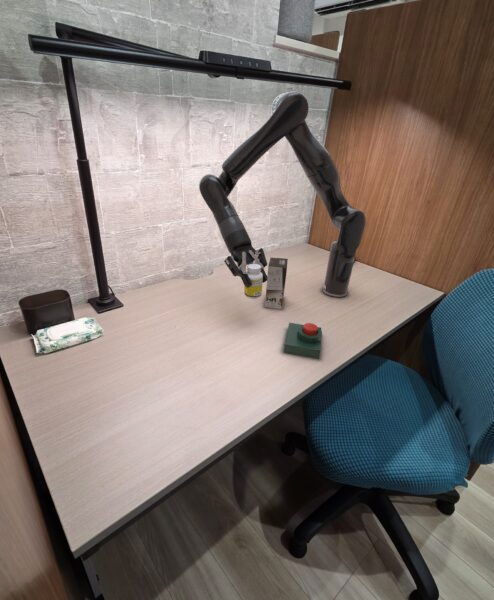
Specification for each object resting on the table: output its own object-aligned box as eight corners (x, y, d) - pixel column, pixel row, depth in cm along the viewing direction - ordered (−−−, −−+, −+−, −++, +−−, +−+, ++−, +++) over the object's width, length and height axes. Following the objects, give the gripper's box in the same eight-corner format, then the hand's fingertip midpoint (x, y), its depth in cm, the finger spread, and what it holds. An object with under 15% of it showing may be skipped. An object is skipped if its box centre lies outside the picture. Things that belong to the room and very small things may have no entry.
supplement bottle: (246, 290, 101) (248, 261, 96) (263, 292, 99) (265, 264, 95) (242, 297, 96) (243, 268, 91) (259, 300, 95) (261, 270, 90)
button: (303, 327, 95) (304, 322, 94) (316, 329, 94) (317, 324, 93) (302, 334, 91) (303, 329, 90) (316, 336, 90) (317, 331, 90)
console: (288, 330, 101) (289, 317, 99) (319, 335, 99) (322, 322, 97) (283, 352, 91) (285, 338, 89) (318, 359, 89) (321, 344, 87)
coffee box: (282, 309, 113) (286, 267, 105) (264, 307, 114) (267, 265, 106) (283, 297, 121) (288, 258, 113) (267, 295, 122) (270, 256, 114)
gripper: (220, 232, 90) (244, 285, 87) (258, 224, 97) (281, 273, 95) (210, 244, 96) (232, 294, 93) (247, 237, 104) (268, 283, 101)
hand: (257, 283), depth 94 cm, fingers closed on supplement bottle, 5 cm apart
